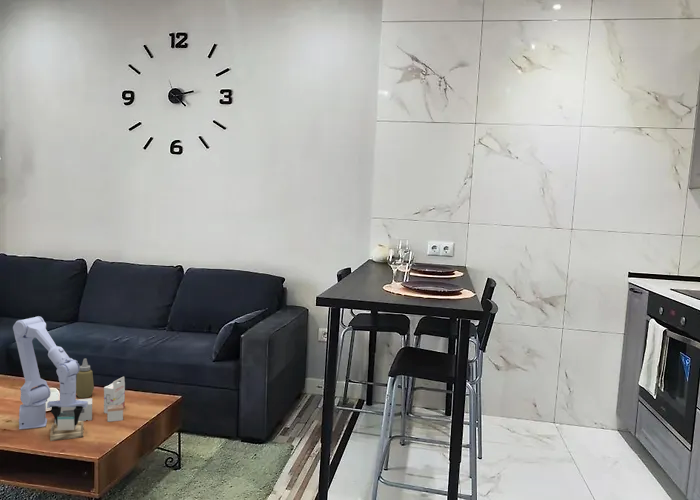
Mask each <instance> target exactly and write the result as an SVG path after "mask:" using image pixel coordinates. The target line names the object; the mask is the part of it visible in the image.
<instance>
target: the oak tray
mask: <svg viewBox="0 0 700 500" xmlns="http://www.w3.org/2000/svg"><path fill="white" fill-rule="evenodd" d="M84 422H85V421H78V424H77V426H76V428H75V429H74V430H57V427H58V426H57V424H55V423H51V426H50V427H51V428H50V432H49V442H53V441H62V440H70V439H71V440H72V439H79V438H84V424H85V423H84Z"/></svg>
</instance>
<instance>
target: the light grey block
mask: <svg viewBox="0 0 700 500" xmlns="http://www.w3.org/2000/svg"><path fill="white" fill-rule="evenodd" d="M107 409H108V410H107V413H106V414H107V416H106V417H107V419H106V420H107V423H108V422H119V421H124V408H123V404H121V405H111V406H107Z"/></svg>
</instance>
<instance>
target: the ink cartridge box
mask: <svg viewBox="0 0 700 500" xmlns="http://www.w3.org/2000/svg"><path fill="white" fill-rule="evenodd" d="M125 380H126V379H125V376H122V377H120V378H118V379H116V380H114V381H113V382H112V383H110V384H109V385H106V386H104V387H103V413H104V414H107V410H108V409H107V406H111V405H121V404H123V409H124V408H125V403H126V402H125V401H126V400H125V399H126V398H125V397H126V395H125V394H126V393H125V392H126V390H125V389H126V382H125Z"/></svg>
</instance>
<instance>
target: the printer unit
mask: <svg viewBox="0 0 700 500" xmlns="http://www.w3.org/2000/svg"><path fill="white" fill-rule="evenodd" d="M76 400H79V401H88V406H87V407H86V408H84V407H83V409H82V411H81V413H80V416H79V419H78V421H84V422H86V420H88V421H92V420H93V397H92V398H91V397H90V398H89V397H88V398H80V399H79V398H78V399H77V398H76ZM75 408H76V407H61V413H74V409H75ZM54 424H56V420H55V419H54Z"/></svg>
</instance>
